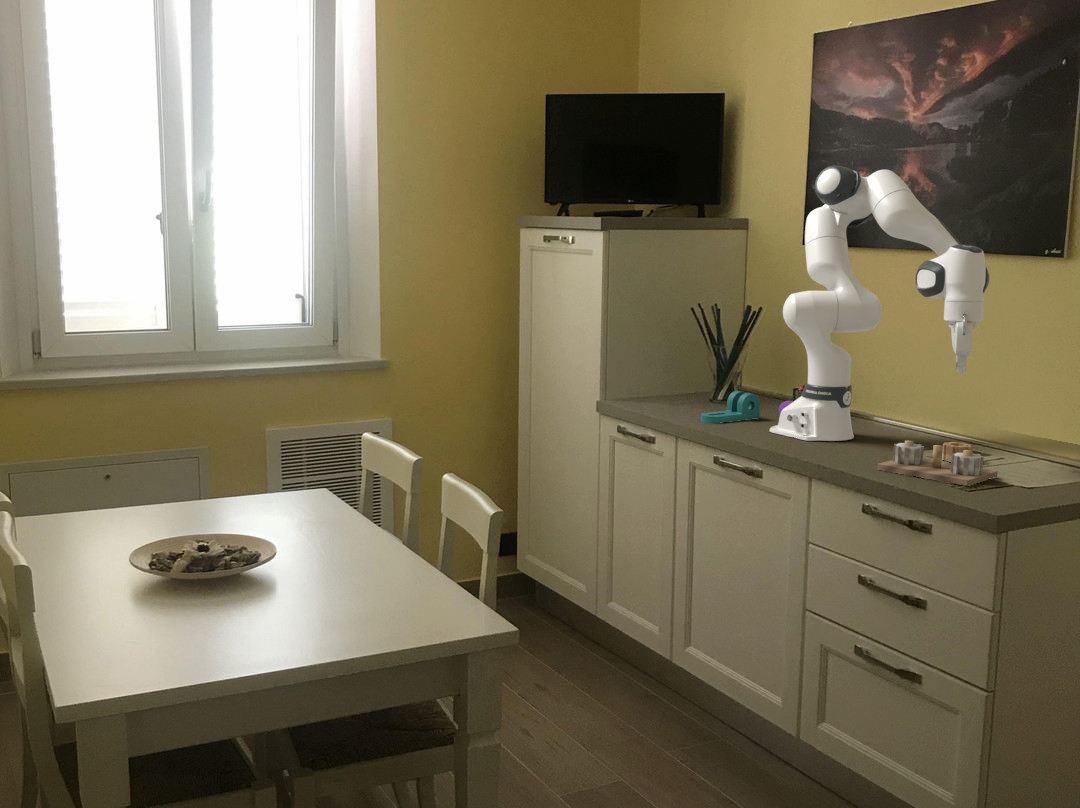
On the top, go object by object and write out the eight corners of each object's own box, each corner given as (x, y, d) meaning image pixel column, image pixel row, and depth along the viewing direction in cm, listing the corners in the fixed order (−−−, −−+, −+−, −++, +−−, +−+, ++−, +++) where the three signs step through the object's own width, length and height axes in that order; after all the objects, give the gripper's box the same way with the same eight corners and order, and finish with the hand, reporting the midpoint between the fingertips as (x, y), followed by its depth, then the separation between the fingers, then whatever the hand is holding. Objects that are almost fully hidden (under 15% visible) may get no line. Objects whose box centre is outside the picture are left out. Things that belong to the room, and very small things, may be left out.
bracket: (744, 416, 330) (745, 390, 329) (759, 419, 325) (760, 393, 323) (696, 421, 321) (696, 394, 320) (710, 425, 316) (711, 397, 314)
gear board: (876, 470, 259) (878, 442, 258) (908, 461, 268) (910, 435, 267) (967, 487, 243) (969, 457, 242) (997, 477, 252) (999, 449, 251)
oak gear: (936, 460, 270) (937, 444, 269) (950, 456, 274) (951, 440, 274) (962, 464, 265) (963, 448, 264) (975, 461, 269) (977, 444, 269)
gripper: (980, 315, 255) (976, 376, 256) (975, 312, 274) (972, 368, 276) (950, 315, 257) (947, 375, 258) (948, 311, 276) (945, 367, 278)
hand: (960, 371), depth 267 cm, fingers open, 8 cm apart
